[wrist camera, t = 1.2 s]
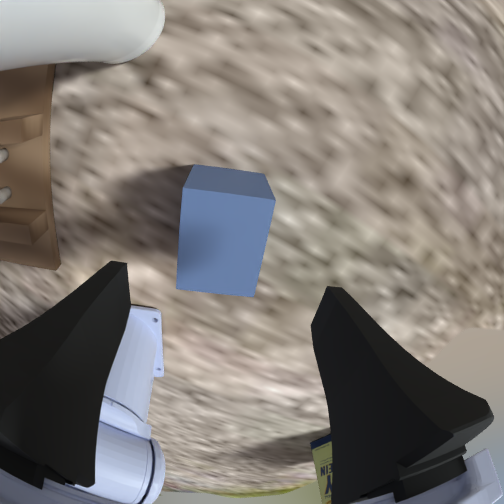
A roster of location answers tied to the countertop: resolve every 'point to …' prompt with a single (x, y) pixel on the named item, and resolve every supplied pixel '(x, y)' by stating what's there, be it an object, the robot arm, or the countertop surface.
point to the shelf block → (223, 230)
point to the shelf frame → (26, 168)
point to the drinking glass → (77, 31)
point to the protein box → (323, 466)
